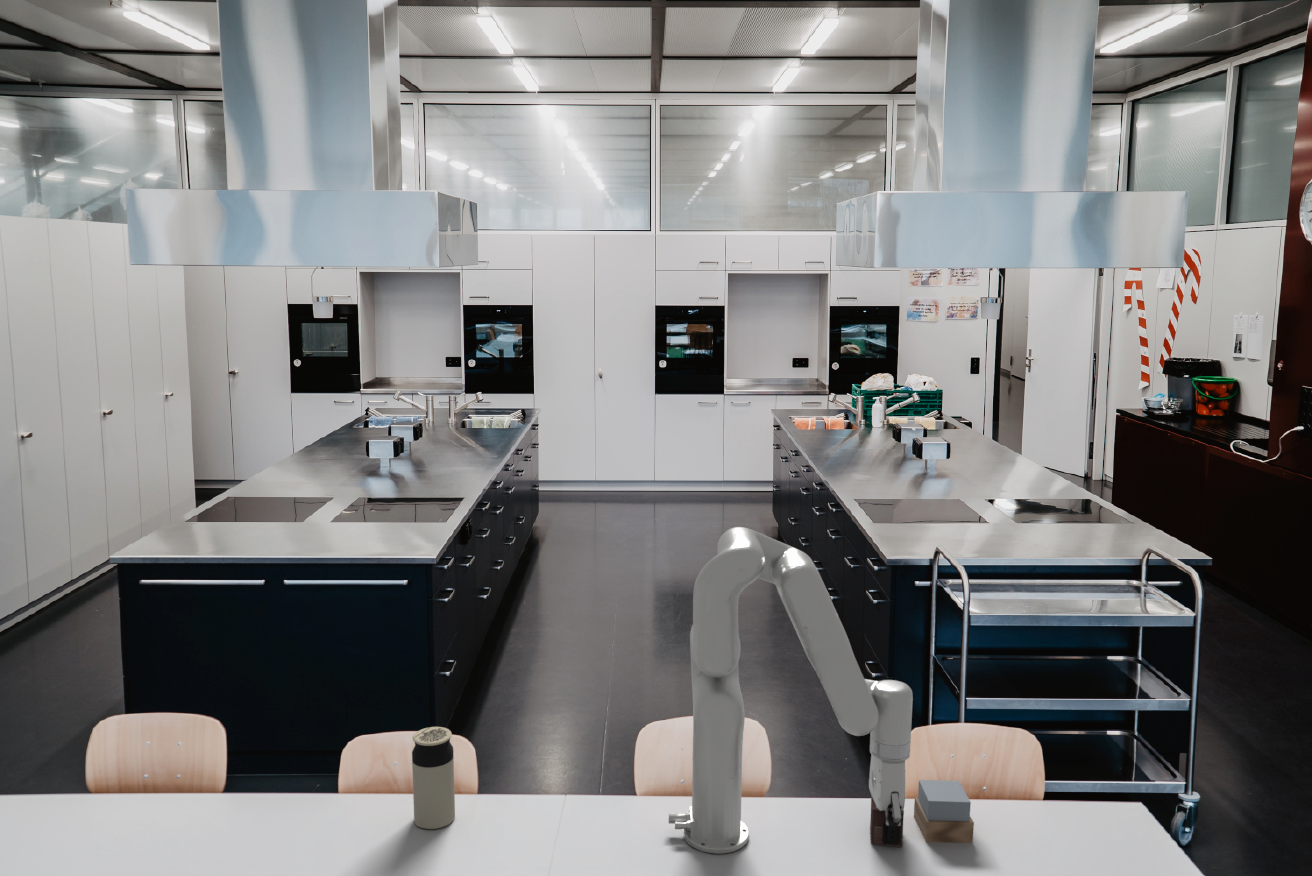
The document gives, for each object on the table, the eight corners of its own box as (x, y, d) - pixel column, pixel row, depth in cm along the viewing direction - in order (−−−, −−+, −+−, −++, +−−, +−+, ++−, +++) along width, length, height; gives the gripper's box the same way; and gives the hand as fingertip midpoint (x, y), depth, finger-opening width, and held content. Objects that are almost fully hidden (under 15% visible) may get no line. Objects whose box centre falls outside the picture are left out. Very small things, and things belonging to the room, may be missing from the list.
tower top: (927, 820, 183) (928, 800, 183) (918, 798, 191) (918, 779, 191) (969, 821, 183) (970, 802, 182) (958, 799, 191) (959, 780, 190)
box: (902, 848, 181) (904, 812, 180) (870, 844, 182) (871, 808, 181) (900, 830, 187) (902, 796, 186) (869, 827, 188) (871, 792, 187)
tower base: (925, 843, 184) (926, 821, 183) (913, 817, 192) (914, 797, 192) (972, 843, 183) (973, 822, 183) (958, 818, 192) (959, 797, 192)
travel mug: (463, 816, 191) (461, 732, 189) (434, 834, 185) (431, 747, 182) (435, 804, 195) (432, 722, 193) (405, 822, 189) (402, 737, 186)
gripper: (860, 725, 191) (857, 808, 193) (880, 767, 173) (876, 858, 176) (898, 725, 191) (894, 808, 193) (921, 768, 173) (917, 858, 176)
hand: (886, 831), depth 185 cm, fingers closed on box, 6 cm apart
